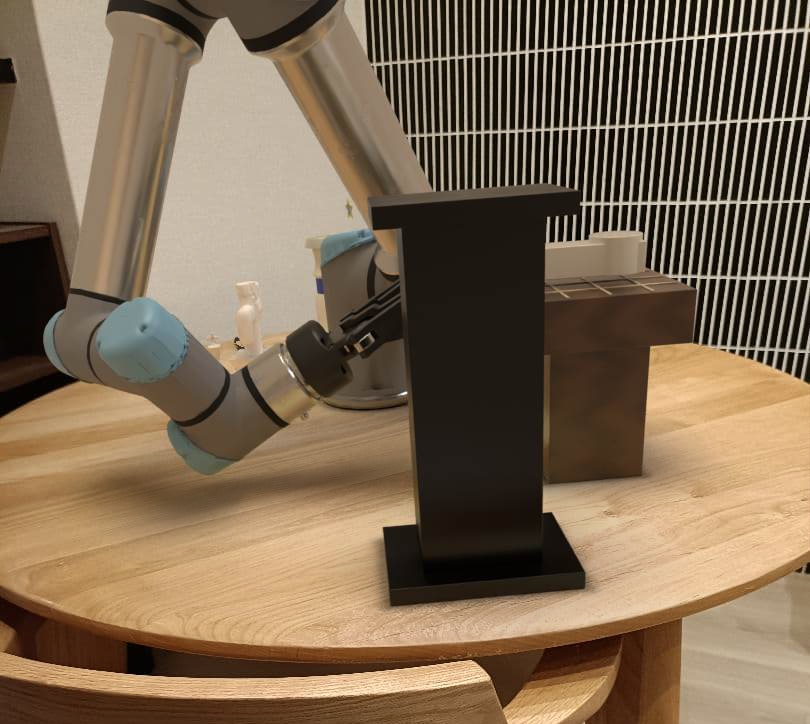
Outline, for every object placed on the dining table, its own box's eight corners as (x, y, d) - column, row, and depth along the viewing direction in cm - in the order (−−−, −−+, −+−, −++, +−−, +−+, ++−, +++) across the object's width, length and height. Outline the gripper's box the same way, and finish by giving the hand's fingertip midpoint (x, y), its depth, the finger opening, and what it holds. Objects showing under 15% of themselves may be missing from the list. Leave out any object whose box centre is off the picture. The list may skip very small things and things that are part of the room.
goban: (526, 497, 84) (526, 301, 75) (499, 445, 98) (497, 275, 89) (680, 484, 84) (698, 287, 76) (631, 433, 99) (641, 264, 90)
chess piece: (209, 395, 126) (197, 330, 122) (241, 392, 126) (230, 327, 122) (204, 405, 122) (192, 337, 117) (238, 402, 122) (227, 334, 118)
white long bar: (402, 292, 79) (400, 253, 78) (399, 283, 84) (397, 246, 82) (648, 273, 80) (650, 234, 78) (631, 266, 85) (633, 229, 83)
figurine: (230, 384, 131) (214, 288, 125) (244, 368, 140) (230, 278, 133) (274, 382, 131) (260, 285, 124) (286, 367, 139) (274, 275, 132)
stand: (390, 606, 66) (355, 209, 53) (383, 540, 77) (353, 197, 64) (585, 588, 67) (600, 190, 53) (551, 525, 78) (556, 181, 64)
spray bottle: (342, 340, 154) (327, 197, 143) (372, 346, 149) (360, 197, 138) (307, 350, 149) (290, 202, 138) (338, 355, 144) (322, 202, 133)
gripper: (326, 378, 94) (501, 258, 89) (323, 424, 78) (534, 282, 74) (286, 323, 91) (465, 196, 86) (275, 360, 75) (491, 208, 71)
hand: (496, 236), depth 80 cm, fingers closed on white long bar, 4 cm apart
